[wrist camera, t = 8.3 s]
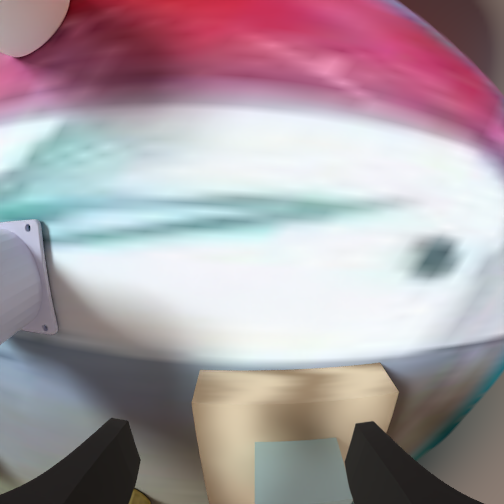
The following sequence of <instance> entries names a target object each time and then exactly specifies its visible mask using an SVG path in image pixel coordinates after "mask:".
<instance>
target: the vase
mask: <svg viewBox="0 0 504 504" xmlns="http://www.w3.org/2000/svg"><path fill="white" fill-rule="evenodd" d="M129 504H151V502H150V500H149V499H148V498H147V497H146V496H145V495H144V494H142V493H141V492H139V491H138V490H136V489H134V490H133V493H132V496H131V499H130V501H129Z"/></svg>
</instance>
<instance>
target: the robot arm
mask: <svg viewBox="0 0 504 504" xmlns="http://www.w3.org/2000/svg"><path fill="white" fill-rule="evenodd" d="M29 225H30V230H29V228H28V226H29ZM45 325H46V326H47V328H48V329H47V328H46V326H45ZM19 330H23V331H29V332H36V333H43V334H50V335H54V334H55V333H57V332H58V325H57V321H56V317H55V312H54V307H53V302H52V297H51V292H50V286H49V281H48V275H47V268H46V261H45V254H44V246H43V237H42V227H41V223H40V221H39V220H37V219H31V220H20V221H9V222H0V345H1V344H2V343H4V342H5V341H6V340H7V339H9V338H10V337H11V336H13V335H14V334H15V333H17V332H18V331H19ZM344 463H345V468H346V474H347V479H348V485H349V489H350V492H351V495H352V498H353V501H354V504H484V503H481V502H479V501H477V500H474V499H472V498H470V497H468V496H466V495H464V494H462V493H461V492H459V491H457V490H455V489H454V488H452V487H450V486H449V485H447V484H445V483H444V482H443V481H441V480H440V479H438V478H437V477H435V476H434V475H433V474H431V473H430V472H429V471H427V470H426V469H425V468H424V467H422V466H421V465H420V464H419V463H418V462H416V461H415V460H414V459H413V458H412V457H411V456H410V455H408V454H407V453H406V452H405V451H404V450H403V449H402V448H401V447H400V446H399V445H398V444H397V443H395V442H394V441H393V440H392V439H391V438H390V437H389V436H388V435H387V434H386V433H385V432H384V431H383V430H382V429H381V428H380V427H379V426H378V425H377V424H376V423H375V422H374V421H370V422H363V423H356V424H355V428H354V432H353V435H352V439H351V442H350V446H349V449H348V453H347V456H346V459H345V462H344ZM139 465H140V457H139V454H138V451H137V448H136V445H135V442H134V439H133V436H132V432H131V429H130V426H129V422H128V421H126V420H120V419H114V418H111V419H110V420H108V421H107V422H106V423H105V424H104V425H103V426H102V427H100V428H99V429H98V430H97V431H96V432H95V433H94V434H93V435H91V436H90V437H89V438H88V439H87V440H86V441H85V442H83V443H82V444H81V445H80V446H79V447H77V448H76V449H75V450H74V451H73V452H71V453H70V454H69V455H68V456H67V457H65V458H64V459H63V460H61V461H60V462H59V463H57V464H56V465H54V466H53V467H52V468H50V469H49V470H47V471H46V472H44V473H43V474H41V475H40V476H38V477H37V478H35V479H33V480H31V481H29V482H28V483H26V484H24V485H22V486H20V487H18V488H15V489H13V490H11V491H8V492H6V493H4V494H1V495H0V504H129V501H130V499H131V496H132V493H133V490H134V487H135V484H136V480H137V475H138V470H139Z"/></svg>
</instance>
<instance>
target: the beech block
mask: <svg viewBox="0 0 504 504" xmlns="http://www.w3.org/2000/svg"><path fill="white" fill-rule="evenodd" d="M398 394H399V391H398V390H397V388H396V387H395V385H394V384H393V382H392V380H391V379H390V377H389V376H388V374H387V373H386V371H385V370H384V368H383V367H382V365H381V364H380V363H373V364H364V365H354V366H343V367H330V368H315V369H295V370H261V371H226V370H200V372H199V376H198V380H197V384H196V388H195V391H194V395H193V399H192V410H193V417H194V423H195V429H196V436H197V442H198V447H199V453H200V459H201V464H202V470H203V475H204V480H205V485H206V490H207V495H208V500H209V504H255V442H281V441H301V440H315V439H326V438H336V439H337V442H338V445H339V449H340V452H341V456H342V459H343V462H345V459H346V456H347V453H348V449H349V446H350V442H351V439H352V435H353V432H354V428H355V424H356V423H363V422H370V421H374V422H375V423H376V424H377V425H378V426H379V427H380V428H381V429H382V430H383V431H384V432H385V433H387V430H388V427H389V424H390V421H391V418H392V414H393V411H394V408H395V404H396V401H397V398H398ZM344 466H345V463H344ZM345 469H346V468H345Z"/></svg>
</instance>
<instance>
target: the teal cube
mask: <svg viewBox="0 0 504 504" xmlns="http://www.w3.org/2000/svg"><path fill="white" fill-rule="evenodd" d="M352 501H353V498H352V495H351V492H350V489H349V485H348V479H347V474H346V469H345V466H344V462H343V459H342V456H341V452H340V449H339V445H338V442H337V439H336V438H326V439H315V440H301V441H281V442H255V504H351V503H352Z"/></svg>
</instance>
